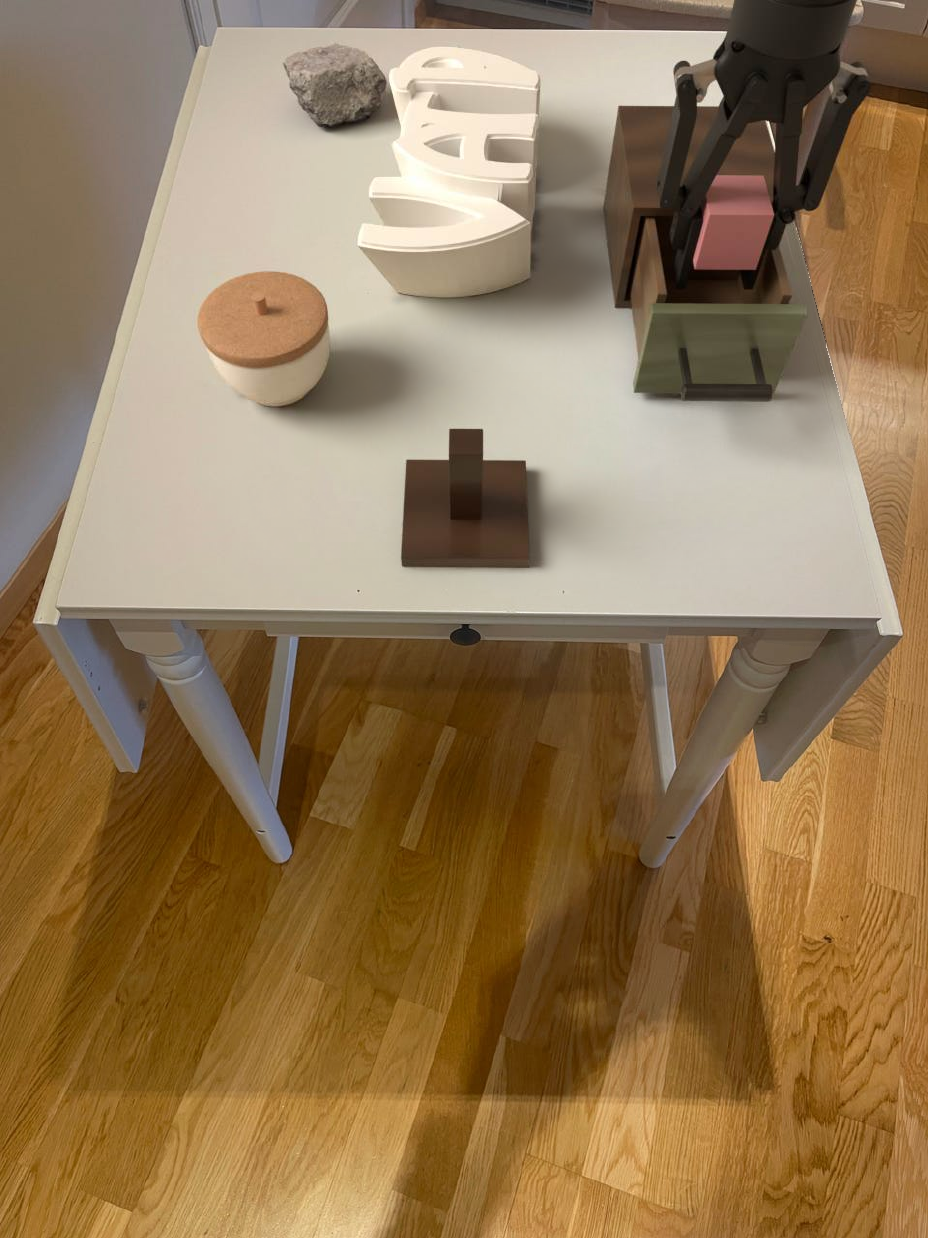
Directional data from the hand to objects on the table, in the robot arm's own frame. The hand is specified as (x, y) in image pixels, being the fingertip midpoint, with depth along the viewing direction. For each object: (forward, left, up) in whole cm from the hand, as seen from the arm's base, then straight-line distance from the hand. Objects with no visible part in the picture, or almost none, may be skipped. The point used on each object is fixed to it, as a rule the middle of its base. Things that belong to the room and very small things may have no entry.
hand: (712, 278), depth 75 cm
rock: (+52, -9, -8) cm, 53 cm away
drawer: (-1, +2, -7) cm, 7 cm away
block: (0, 0, +3) cm, 3 cm away
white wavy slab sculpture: (+29, -2, -8) cm, 30 cm away
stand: (+5, +28, -8) cm, 30 cm away
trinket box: (+27, +27, -8) cm, 39 cm away
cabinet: (+8, -11, -8) cm, 15 cm away
